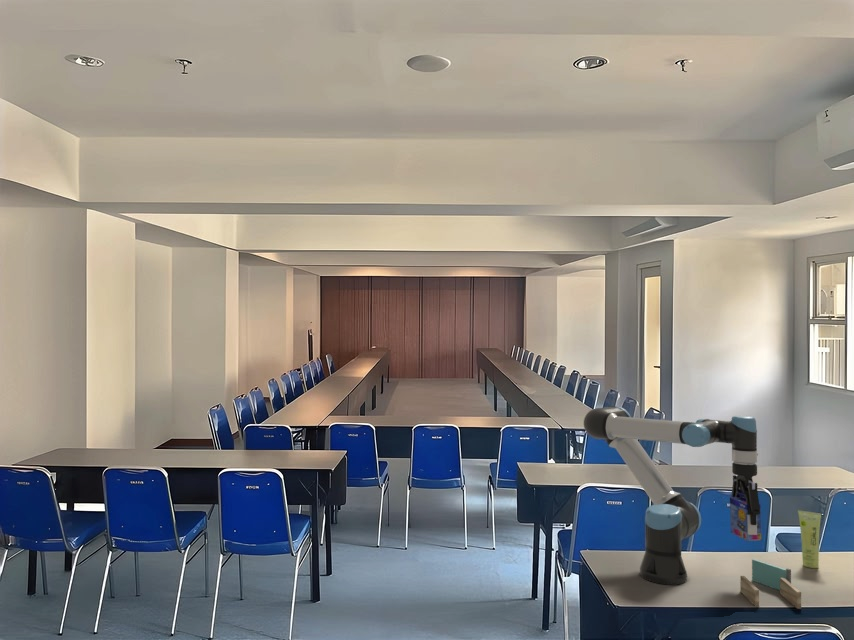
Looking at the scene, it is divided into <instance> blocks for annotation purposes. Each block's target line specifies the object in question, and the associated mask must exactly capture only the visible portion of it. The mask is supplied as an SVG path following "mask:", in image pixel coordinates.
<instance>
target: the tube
mask: <svg viewBox="0 0 854 640" xmlns="http://www.w3.org/2000/svg"><path fill="white" fill-rule="evenodd" d="M797 515H798V519H799V520H798V521H799V528H800V539H801V553H802V555H801V557H802V558H801V559H802V566H804V567H805V568H810V569H818V568H819V567H820V565H819V561H820V559H819V557H820V556H819V554H820V552H819V551H820V547H819V546H820V531H821V530H820V529H821V520H822V513H818V512H812V511H806V510H805V511H804V510H799V509H798V510H797Z"/></svg>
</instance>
